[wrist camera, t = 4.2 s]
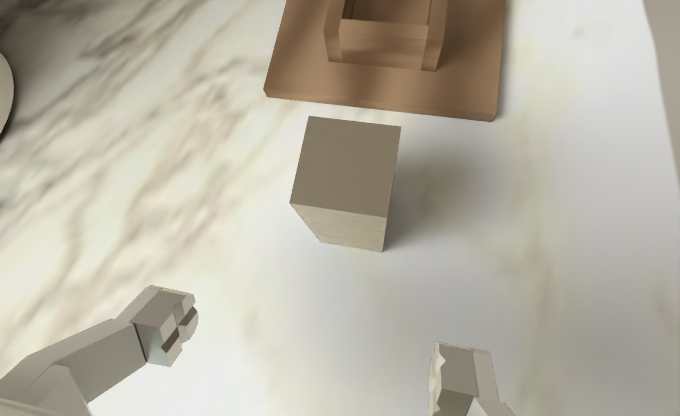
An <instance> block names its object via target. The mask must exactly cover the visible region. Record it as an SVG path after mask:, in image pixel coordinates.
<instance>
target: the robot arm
mask: <svg viewBox="0 0 680 416" xmlns="http://www.w3.org/2000/svg"><path fill="white" fill-rule="evenodd" d="M13 93H14V83H13V76H12V72H11V69H10V66H9V64H8V62H7V61H6V59H5V58H4V56H3V55H2V54H1V53H0V133H1V131H2V129H3V127H4V125H5V123H6V121H7V119H8V116H9V113H10V110H11V106H12V101H13ZM194 303H195V298H194V295H193V294H190V293H186V292H181V291H177V290H173V289H168V288H163V287H158V286H154V285H150V286H148V287H146V288H145V289H144V290H143V291H142V292H141V293H140V294H139V295H138V296H137V297H136V298H135V299H134V300H133V301H132V302H131V303H130V304H129V305H128V306H127V307H126V308H125V309H124V310H123V311H122V312H121V313H120V314H119V315H118V316H117V317H116V318H115V319H109V320H106V321H104V322H102V323H100V324H97V325H95V326H93V327H91V328H89V329H86V330H84V331H82V332H80V333H77V334H75V335H73V336H71V337H68V338H66V339H64V340H62V341H60V342H57V343H55V344H53V345H51V346H48V347H46V348H44V349H42V350H39V351H37V352H35V353H33V354H31V355H28V356H27V357H25V358H24V359H23V360H22V361H21V362H20V363H19V364H18V365H16V366H15V367H14V368H13V369H12V370H11V371H10V372H9V373H7V374H6V375H5V376H4V377H3V378H2V379H1V380H0V416H93V415H92V413H91V411H90V409H89V407H88V405H87V404H88V403H89V402H91V401H92V400H93V399H95V398H96V397H98V396H99V395H101V394H102V393H104V392H105V391H107V390H108V389H110V388H111V387H113V386H114V385H116V384H117V383H119V382H120V381H122V380H123V379H125V378H126V377H127V376H129V375H130V374H132V373H133V372H135V371H136V370H138V369H139V368H141V367H142V366H144V365H145V364H146V362H147V363H152V364H158V365H163V366H168V367H171V365H172V364H173V363H174V361H175V360H176V358H177V357H178V355H179V354H180V353H181V351H182V343H184V342H186V341H187V340H189V339H190V338H191V337H192V335H193V334H194V332H195V329H196V327H197V324H198V312H197V311H196V309H195V308H194V307H193V305H194ZM434 355H435V357H434V358H433V359H431V363H430V368H429V374H428V391H429V392H430V394H431V398H430V401H429V404H428V407H429V416H515V415H514V414H513V412H512V411H511V410H510V409H509V407H508V406H507V405H506V404H505V403H502V402H500V401H499V396H498V391H497V386H496V381H495V377H494V372H493V367H492V362H491V357H490V354H489V352H488V351H484V350H479V349H473V348H469V347H464V346H458V345H453V344H448V343H442V342H437V343H436V346H435V349H434Z"/></svg>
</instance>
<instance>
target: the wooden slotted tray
mask: <svg viewBox="0 0 680 416" xmlns="http://www.w3.org/2000/svg"><path fill="white" fill-rule="evenodd" d="M504 10H505V0H287V1H286V5H285V9H284V13H283V16H282V20H281V24H280V28H279V32H278V35H277V39H276V43H275V47H274V50H273V54H272V58H271V62H270V66H269V69H268V73H267V77H266V81H265V85H264V88H263V89H264V91H265V93H266V95H267V97H272V98H281V99H290V100H299V101H308V102H317V103H326V104H335V105H344V106H353V107H362V108H371V109H380V110H389V111H398V112H407V113H416V114H425V115H434V116H443V117H452V118H461V119H470V120H479V121H488V122H492V121H493V119H494V118H495V116H496V114H497V102H498V89H499V76H500V63H501V49H502V36H503V23H504Z"/></svg>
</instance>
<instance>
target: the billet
mask: <svg viewBox="0 0 680 416" xmlns="http://www.w3.org/2000/svg"><path fill="white" fill-rule="evenodd" d="M400 131H401V127H399V126H391V125H382V124H374V123H365V122H356V121H348V120H339V119H331V118H322V117H314V116H309V118H308V122H307V127H306V131H305V136H304V140H303V145H302V149H301V154H300V158H299V163H298V167H297V171H296V176H295V180H294V185H293V189H292V194H291V198H290V205H291V206H292V207H293V208H294V210H295V211H296V212H297V213H298V215H299V216H300V217H301V218H302V220H303V221H304V222H305V223H306V224H307V226H308V227H309V228H310V229H311V231H312V232H313V233H314V234H315V236H316V237H317V238H318V239H319V241H320V242H323V243H329V244H335V245H341V246H347V247H354V248H360V249H366V250H372V251H378V252H382V250H383V243H384V237H385V231H386V224H387V218H388V211H389V204H390V198H391V191H392V184H393V178H394V171H395V164H396V158H397V151H398V144H399V138H400Z"/></svg>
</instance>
